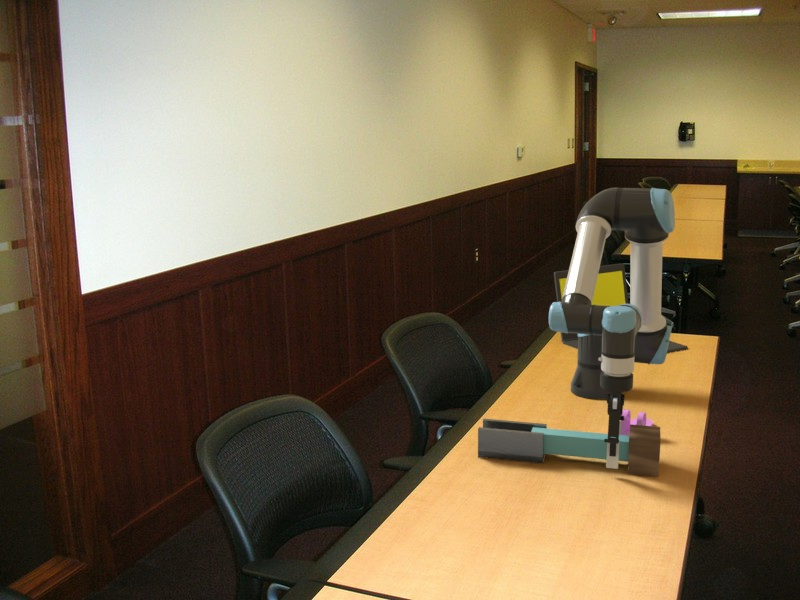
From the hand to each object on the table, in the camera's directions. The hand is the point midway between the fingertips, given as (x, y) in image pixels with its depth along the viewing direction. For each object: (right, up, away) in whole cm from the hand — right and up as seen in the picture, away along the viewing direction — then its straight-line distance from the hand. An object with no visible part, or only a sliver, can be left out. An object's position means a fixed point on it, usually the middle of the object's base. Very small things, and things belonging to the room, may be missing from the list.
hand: (613, 456), depth 201 cm
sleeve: (-23, -1, +7) cm, 25 cm away
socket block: (+7, -2, -2) cm, 7 cm away
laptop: (+28, +21, +104) cm, 110 cm away
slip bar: (-6, 0, +2) cm, 7 cm away
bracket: (+12, +3, +22) cm, 25 cm away
